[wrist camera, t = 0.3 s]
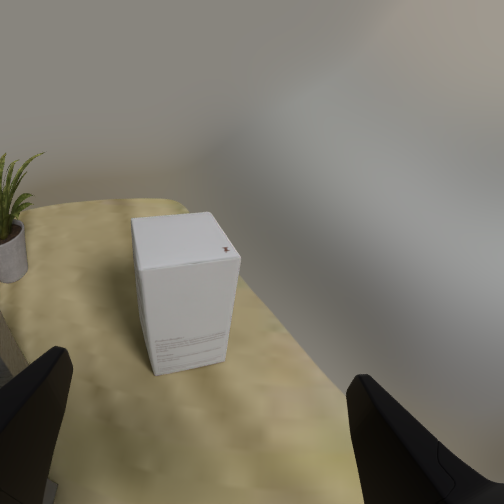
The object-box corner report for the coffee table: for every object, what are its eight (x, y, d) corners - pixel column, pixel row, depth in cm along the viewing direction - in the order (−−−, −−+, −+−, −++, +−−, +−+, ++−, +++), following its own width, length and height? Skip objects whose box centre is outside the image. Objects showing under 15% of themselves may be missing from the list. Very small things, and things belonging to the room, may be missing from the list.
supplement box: (203, 311, 34) (213, 209, 27) (226, 363, 28) (244, 257, 21) (138, 321, 30) (129, 215, 24) (151, 378, 25) (138, 269, 18)
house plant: (37, 229, 41) (25, 133, 32) (78, 263, 36) (64, 144, 27) (-31, 267, 30) (-57, 163, 21) (-5, 315, 25) (-49, 186, 16)
